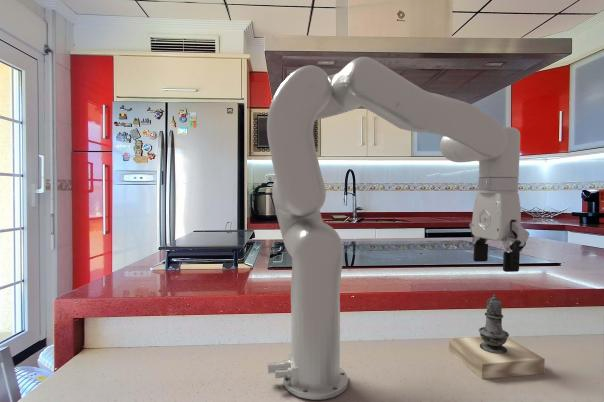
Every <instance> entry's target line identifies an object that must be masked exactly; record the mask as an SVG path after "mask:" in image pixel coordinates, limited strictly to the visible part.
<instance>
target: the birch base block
mask: <svg viewBox="0 0 604 402" xmlns="http://www.w3.org/2000/svg"><path fill="white" fill-rule="evenodd" d="M481 343H484V341H483V340H482V338H481V336H472V337H470V336H469V337H458V338H456V337H455V338H449V339H448V352H449V353H450V354H451V356H454V357H455V358H456V359H457V360H458V361H460V362H461V363H462V364H463V365H465V366H466V367H467V368H468V369H469V370H471V371H472V372H473V373H474V374H476V376H478V377H479V378H480V379H482V380H483V379H485V380H486V379H495V378H507V377H516V376H517V377H518V376H528V375H529V376H530V375H538V374H539V375H540V374H545V366H546V365H545V363H546V362H545V358H544V357H542V356H540V355H539V354H537V353H536V352H534V351H532V350H531V349H529V348H527V347H526V346H523V345H522V344H520V343H519V342H518V341H517V342H516V341H515V340H513V339H511V337H507V341H506V343H505V344H503V345H502V346H504V347H505V348H506V349H507V352H506V353H504V354H495V353H490V352H487V351H485V350H483V349H481V348H480V344H481Z"/></svg>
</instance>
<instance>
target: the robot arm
mask: <svg viewBox="0 0 604 402" xmlns="http://www.w3.org/2000/svg"><path fill="white" fill-rule="evenodd" d="M360 107H363V108H364V109H366V110H368V111H369V112H372V113H373V114H374V115H376V116H378V117H380V118H381V119H383V120H385V121H386V122H388V123H390V124H392V125H393V126H395V127H396V128H398V129H400V130H405V131H409V132H415V133H427V134H434V135H439V136H441V137H442V138H440V139H441V140H440V143H439V149H440V150H439V151H440V152H441V154H442V156H443V157H444V158H445V159H446V160H448V161H451V162H453V163H469V162H478V183H477V184H478V187H477V190H478V191H477V192H476V195H475V199H474V204H473V210H472V219H471V220H472V221H471V222H470V223H469V225H468V226H469V230H470V235H471V238H472V240H471V241H472V243H473V261H474V262H476V263H477V262H483V263H484V262H487V261H488V258H489V244H488V243H487V242H488V241H492V242H501V243H502V246H503V247H504V248H505V251H503V255H502V257H503V260H502V270H503V272H505V273H508V272H509V273H517V272H519V271H520V255H521V254H520V253H522V252H523V249H524V248H525V246H526V244H527V241H528V239H529V238H530V232H529V231H528V230H527V229H526V228H524V227H523V225H522V217H521V216H522V212H521V200H520V194H519V177H520V174H519V173H520V154H521V133H520V130H519V129H518V128H516V127H512V126H503V125H502V124H501V123H500V122H499V121H498V120H497V119H496V118H495V117H494V116H491V115H490V114H488V113H487V112H485V111H484V110H482V109H481V108H479V107H477V106H475V105H474V104H471V103H468V102H466V101H463V100H460V99H456V98H453V97H450V96H446V95H445V96H444V95H442V94H439V93H434V92H429V91H427V90H424V89H422V88H421V87H419V86H418V85H416V84H415V83H413V82H411V81H409V80H408V79H406V78H405V77H404V76H403V75H401V74H398V73H397V72H395V71H394V70H393V69H390V68H389V67H387V66H385V65H384V64H383V63H381V62H379V61H377V60H375V59H373V58H371V57H369V56H359V57H357V58H355V59H353V60H351V61H349V63H347V64H346V65H345V66H344V67H342V69H341V70H339V72H337V73H334V74H330V75H328V73H327V72H326V71H325V70H324V69H322V68H321V67H319V66H316V65H314V64H313V65H311V64H310V65H305V66H301V67H299V68H297V69H295V70H294V71H293V72H291V73H290V74H289V75H288V76H287V77H286V78H285V80H283V81H282V82H281V83H280V85H279V87H278V88H277V90H276V91H275V94H274V95H273V98H272V100H271V103H270V106H269V109H268V113H267V120H266V135H267V142H268V146H269V152H270V157H271V162H272V167H273V171H274V175H275V176H274V177H275V180H274V181H273V184H272V190H271V192H272V193H271V195H272V196H271V197H272V200H273V205H274V209H275V213H276V214H275V215H276V218H277V221H278V225H279V229H280V233H281V237H282V241H283V245H284V247H285V249H286V251H287V253H288V255H289V256H291V258H292V260H291V262H292V263H291V264H292V265H291V266H292V268H291V281H290V313H291V314H290V323H291V325H290V327H291V328H290V329H291V331H290V333H291V334H290V341H291V342H290V348H291V349H290V350H291V351H290V354H288V355H287V356H288V358H287V359H285V360H283V362H282V361H281V362H280V361H279V362H277V361H275V362H267V374H274V378H275V379H282V380H283V381H282V383H283V386H284V388H285V389H286V390H287V391H288V392H289V393H290V394H292V395H294V396H296V397H298V398H302V399H305V400H312V401H313V400H316V401H318V400H320V401H321V400H327V399H331V398H334V397H337V396H339V395H341V394H342V393H343V392H345V391H346V389H347V387H348V384H349V377H348V374H347V372H346V371H345V370H344V369H343V368H341V366H340V365H341V350H340V349H341V277H342V270H343V269H342V268H343V265H344V264H343V262H344V245H343V241H342V239H341V237H340V235H339V233H338V232H337V231H336V229H334V227H333V226H330V225H329V224H327V223H325V222H324V221H323V219H322V218H323V217H322V213H321V209H322V207H323V206H324V204H325V201H326V198H327V197H326V196H327V192H326V186H325V183H324V180H323V175H322V170H321V167H320V163H319V159H318V158H319V157H318V154H317V151H316V144H315V138H314V127H315V122H316V121H319V120H322V119H326V118H330V117H334V116H338V115H341V114H344V113H345V114H346V113H348V112H350V111H354V110H356V109H358V108H360ZM511 243H512V244H511Z"/></svg>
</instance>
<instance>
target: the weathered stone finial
mask: <svg viewBox="0 0 604 402" xmlns="http://www.w3.org/2000/svg"><path fill="white" fill-rule="evenodd" d="M502 307H503V303H502V301H501V300H500V299H499V298H497V295H496V294H495V293H494V294H493V295H492V297H490V298H488V299H487V300H486V312H484V316H485V324H484V325H485V326H481V327H479V328H478V333H479V335H480V336H479V337H481V338H482V340H483V341H484V343H481V344H480V348H481V349H483V350H485V351H487V352H490V353H495V354H504V353H506V352H507V349H506V348H505V347H504V346H502V345H503V344H505V343H506V341H507V337H508V338H510V334H509V332H507V331H506V330H505V329H503V324H502V323H503V322H502V321H503V318H504V315H503V314H502V311H503V310H502V309H503V308H502Z"/></svg>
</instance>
